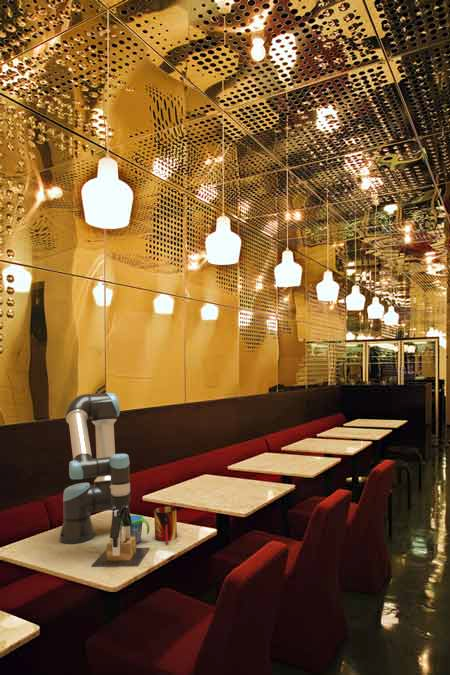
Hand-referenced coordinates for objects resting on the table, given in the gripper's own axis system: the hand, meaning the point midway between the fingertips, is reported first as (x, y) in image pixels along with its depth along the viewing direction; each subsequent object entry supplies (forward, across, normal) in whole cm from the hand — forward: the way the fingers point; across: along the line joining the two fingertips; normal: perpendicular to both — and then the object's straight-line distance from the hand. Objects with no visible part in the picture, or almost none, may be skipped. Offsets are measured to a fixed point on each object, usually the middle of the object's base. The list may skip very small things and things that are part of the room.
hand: (121, 549), depth 186 cm
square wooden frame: (+3, 0, 0) cm, 3 cm away
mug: (+4, -21, +14) cm, 26 cm away
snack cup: (+4, -17, -1) cm, 17 cm away
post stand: (+3, 0, 0) cm, 3 cm away
